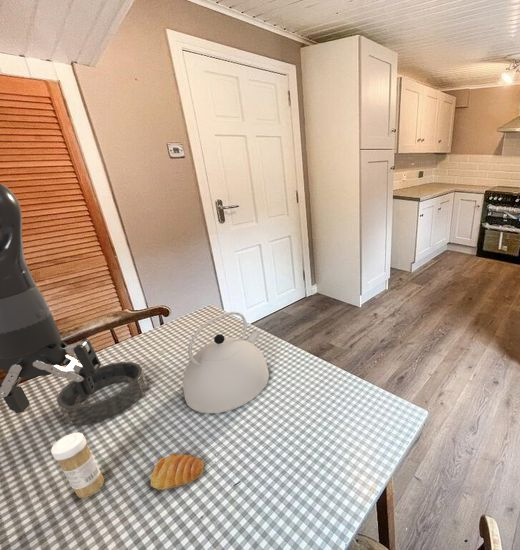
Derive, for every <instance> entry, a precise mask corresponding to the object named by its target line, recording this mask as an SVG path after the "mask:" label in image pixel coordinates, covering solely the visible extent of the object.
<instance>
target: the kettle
mask: <svg viewBox="0 0 520 550" xmlns="http://www.w3.org/2000/svg"><path fill="white" fill-rule="evenodd" d="M232 315H235V316H239V317H240V318H241V320H242V322H243V332H242V336H241V338H236V337H225V336H224V335H223V334H221V333H218V334H216V335H215V336H214V338H213V341H211V342H209V343H207V344H206V345H205V346H203V347H201V349H199V350H198V351H197V352H196V353H195V354H194V355H193V346H194V342H195V340H196V338H197V337H198V335H199V334H200V333H201V332H202V331H203V329H204V328H206V327H207V326H209V325H211V324H212V323H214V322H215V321H218V320H220V319H223V318H224V317H227V316H232ZM247 329H248V323H247V320H246V317H245V316H244V315H243V314H242V313H241V312H238V311H228V312H224V313H222V314H220V315H217V316H215V317H213V318H211V319H209V320H207V321H206V322H205V323H203V324H202V325H200V327H199V328H198V329H197V330H195V332H194V333H193V335H192V337H191V338H190V341H189V343H188V347H187V348H188V349H187V352H188V359H189V362H188V363H187V366H186V367H185V371H184V374H183V379H182V391H183V392H182V393H183V396H184V400H185V403H186V404H187V406H188V407H189V408H190V409H191V410H193V411H196V412H198V413H202V414H218V413H225V412H229V411H232V410H235V409H237V408H240V407H242V406H244V405H245V404H247V403H250V402H251V401H252V400H253V399H255V398H256V397H257V396H258V395H260V394H261V392H262V391H263V390H264V389H265V387H266V386H267V384H268V381H269V377H270V372H269V367H268V364H267V360H266V358H265V356H264V354H263V353H262V351H261V350H260V349H259V348H258V347H257V346H256V345H255V344H256V342H257V340H258V338H259V336H260V334H261V331H260V330H253V331H252V332H251V333H250V334H249V336H248V337H246V335H247Z"/></svg>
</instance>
